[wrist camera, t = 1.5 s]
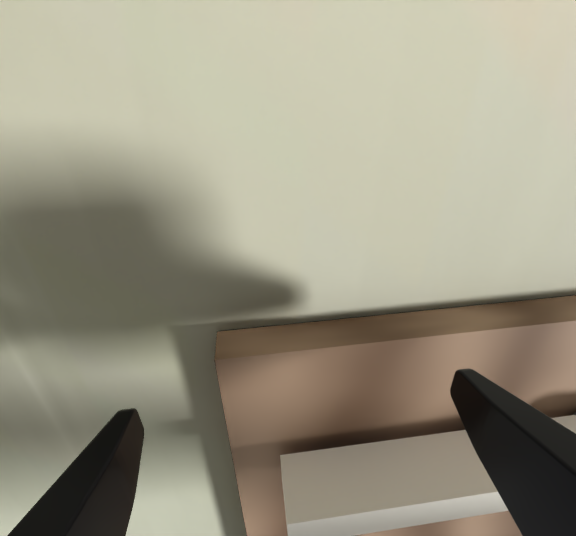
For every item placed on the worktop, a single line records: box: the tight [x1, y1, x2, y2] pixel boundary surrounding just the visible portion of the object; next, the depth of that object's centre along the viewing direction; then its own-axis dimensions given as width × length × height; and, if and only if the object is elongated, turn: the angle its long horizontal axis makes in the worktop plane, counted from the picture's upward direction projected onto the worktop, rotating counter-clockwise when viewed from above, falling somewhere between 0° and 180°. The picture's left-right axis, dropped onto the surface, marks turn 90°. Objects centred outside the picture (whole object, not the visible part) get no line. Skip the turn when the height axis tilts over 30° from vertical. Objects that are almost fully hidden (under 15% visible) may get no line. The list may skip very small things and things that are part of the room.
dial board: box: [214, 295, 576, 536], centre depth 18 cm, size 22×20×2 cm
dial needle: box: [280, 412, 576, 536], centre depth 14 cm, size 16×3×3 cm, turn 92°
